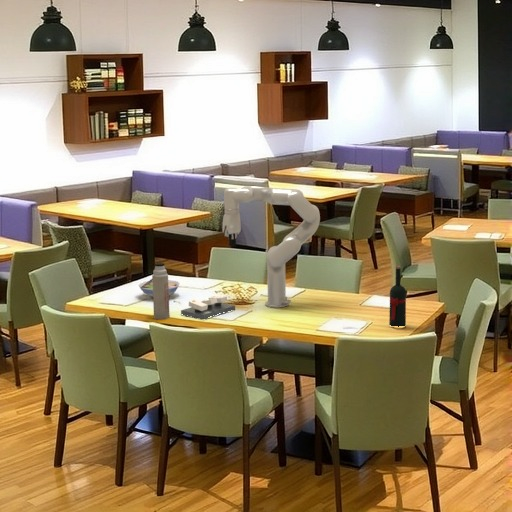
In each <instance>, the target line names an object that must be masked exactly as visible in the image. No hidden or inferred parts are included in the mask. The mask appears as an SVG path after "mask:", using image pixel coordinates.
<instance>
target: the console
mask: <svg viewBox="0 0 512 512" xmlns="http://www.w3.org/2000/svg"><path fill="white" fill-rule="evenodd" d="M231 310H234V311H236V305H234V304H230V303H225V302H223V303H215V304H211V305H208V308H207V310H203V311H200V310H198V309H195V308H193V307H187V308H184V309H181V310H180V315H181V314H183V315H188V316H192V317H191V318H193V317H196V318H195V319H197V318H200V319H199V320H202V319H205V320H207V319H206V318H208V317H210V316H213V315H217V314H219V313H223V312H227V311H231ZM231 312H232V311H231ZM183 315H182V316H183ZM188 316H187V317H188ZM208 319H209V318H208Z"/></svg>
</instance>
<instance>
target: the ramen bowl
mask: <svg viewBox="0 0 512 512" xmlns="http://www.w3.org/2000/svg"><path fill="white" fill-rule="evenodd" d="M180 284H181V283H180V282H179V281H177V280H173V279H168V287H169V296H171V295H173V294H175V292H176V291H177V290H178V288H179V287H180ZM138 287H139V289H140V290H141V291H142V293H143V294H145V295H146V296H148V297H151V298H153V282H152V278H151V279H149V280H146V281H143V282H140V283H139V284H138Z"/></svg>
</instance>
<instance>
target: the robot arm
mask: <svg viewBox="0 0 512 512" xmlns="http://www.w3.org/2000/svg"><path fill="white" fill-rule="evenodd" d="M223 194H224V195H223V197H224V199H223V200H224V203H223V204H224V214H223V218H222V234H224V237H227V238H228V243H229V244H228V247H236V246H237V241H236V240H237V236H238V235H239V234H240V232H241V230H242V224H241V223H242V221H241V216H240V215H241V214H240V203H243V204H248V203H250V202H251V201H258V202H264V203H267V204H269V205H277V206H290V207H291V209H293V210H294V212H296V213H297V215H299V217H300V218H302V220H303V221H302V222H301V223H300V224H298V226H297V227H295V228H294V229H293V230H292V231H291V232H290V233H287V235H286V236H284V238H283V240H282V241H281V243H279V244H278V245H274V246H271V247H270V248H269V249H268V251H267V253H266V264H267V269H266V271H267V274H266V275H267V280H266V281H267V301H265V303H264V306H266V307H268V308H274V307H275V309H276V308H285V306H286V307H288V306H289V305H290V304H291V301H292V300H290V299H288V296H286V295H287V294H286V293H287V292H286V291H287V290H286V263H287V262H288V261H290V260H291V259H292V258H293V257H295V256H296V255H297V254H298V253H299V252H300V250H301V247H302V245H304V243H305V242H307V241H308V240H309V239H310V238H311V237H312V236H313V235H315V233H316V232H317V230H318V228H319V225H320V221H321V216H320V215H321V213H320V210H319V208H318V206H317V205H314V204H312V203H311V202H310V201H309V200H308V199H307V198H306V197H305V195H304V193H303V191H301V190H300V189H297V188H279V187H278V188H277V187H263V186H253V185H251V186H250V185H248V186H247V185H245V186H243V187H241V188H239V189H238V188H236V187H227V188H225V189H224V192H223Z"/></svg>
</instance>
